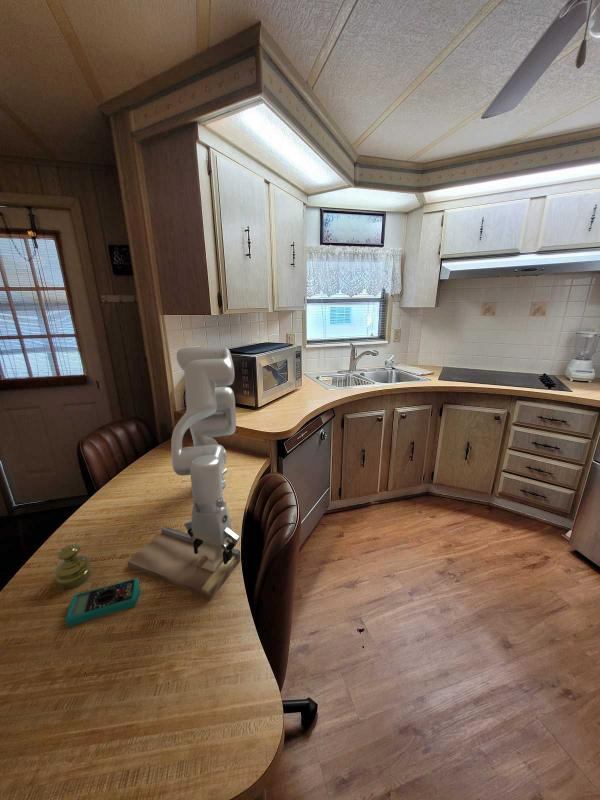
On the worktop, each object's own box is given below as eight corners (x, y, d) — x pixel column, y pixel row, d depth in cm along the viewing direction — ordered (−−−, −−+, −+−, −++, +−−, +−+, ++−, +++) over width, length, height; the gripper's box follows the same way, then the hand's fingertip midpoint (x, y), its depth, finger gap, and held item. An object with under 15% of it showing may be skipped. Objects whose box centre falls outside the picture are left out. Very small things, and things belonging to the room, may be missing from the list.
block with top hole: (212, 551, 89) (211, 534, 88) (227, 556, 87) (226, 538, 86) (191, 574, 81) (189, 556, 79) (207, 580, 79) (205, 561, 78)
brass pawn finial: (62, 572, 84) (54, 542, 81) (94, 564, 87) (87, 534, 84) (54, 594, 78) (45, 562, 75) (88, 584, 80) (81, 553, 78)
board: (166, 535, 98) (164, 525, 98) (240, 560, 89) (240, 550, 88) (128, 567, 86) (126, 557, 85) (210, 600, 76) (209, 589, 75)
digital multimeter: (138, 607, 75) (137, 597, 74) (65, 629, 69) (63, 619, 69) (141, 583, 81) (140, 574, 81) (74, 602, 76) (72, 593, 75)
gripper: (244, 501, 81) (247, 554, 85) (191, 487, 87) (197, 538, 91) (228, 518, 74) (231, 575, 78) (172, 502, 80) (179, 556, 85)
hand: (213, 555), depth 85 cm, fingers open, 9 cm apart
